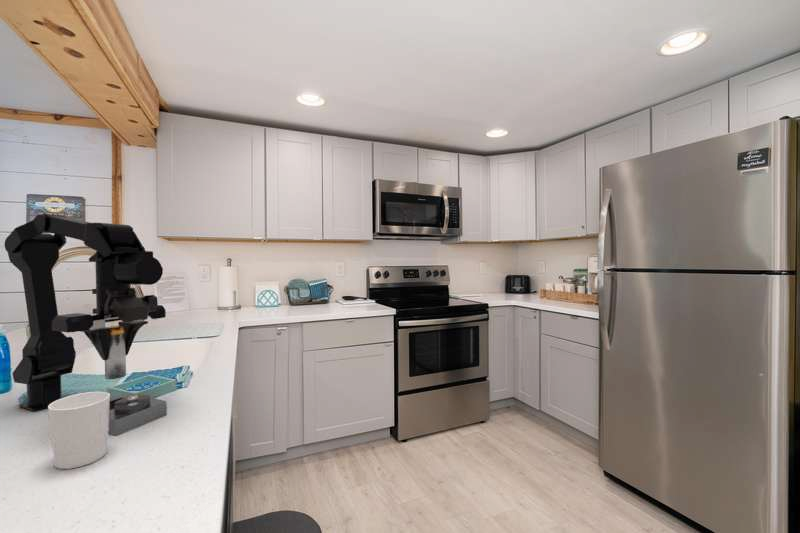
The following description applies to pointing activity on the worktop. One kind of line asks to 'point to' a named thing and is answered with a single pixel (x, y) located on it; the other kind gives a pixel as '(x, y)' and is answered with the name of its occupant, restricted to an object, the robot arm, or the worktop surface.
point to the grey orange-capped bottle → (116, 353)
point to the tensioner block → (133, 412)
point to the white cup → (79, 428)
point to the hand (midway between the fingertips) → (115, 357)
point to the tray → (152, 392)
